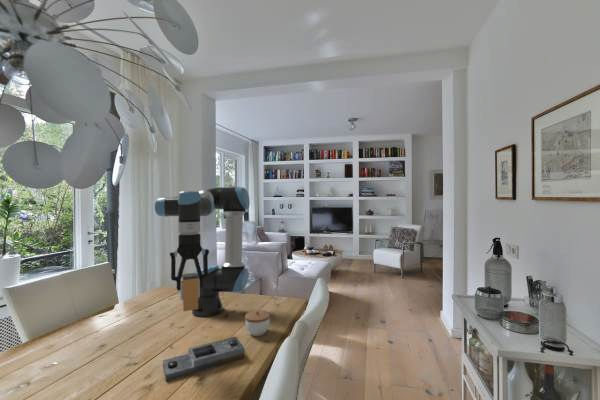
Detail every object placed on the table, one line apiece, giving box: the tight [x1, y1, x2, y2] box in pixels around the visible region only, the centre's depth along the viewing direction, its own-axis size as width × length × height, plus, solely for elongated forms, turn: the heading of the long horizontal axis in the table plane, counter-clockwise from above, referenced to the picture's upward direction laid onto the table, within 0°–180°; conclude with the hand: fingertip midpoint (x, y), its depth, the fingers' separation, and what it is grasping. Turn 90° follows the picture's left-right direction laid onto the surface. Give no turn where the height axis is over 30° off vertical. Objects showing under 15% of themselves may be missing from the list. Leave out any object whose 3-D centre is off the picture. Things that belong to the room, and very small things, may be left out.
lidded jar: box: [244, 310, 271, 337], centre depth 127 cm, size 11×11×9 cm
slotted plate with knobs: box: [162, 336, 245, 382], centre depth 105 cm, size 10×26×5 cm, turn 120°
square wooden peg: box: [181, 272, 198, 312], centre depth 107 cm, size 5×5×12 cm
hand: (189, 297), depth 107 cm, fingers closed on square wooden peg, 5 cm apart
